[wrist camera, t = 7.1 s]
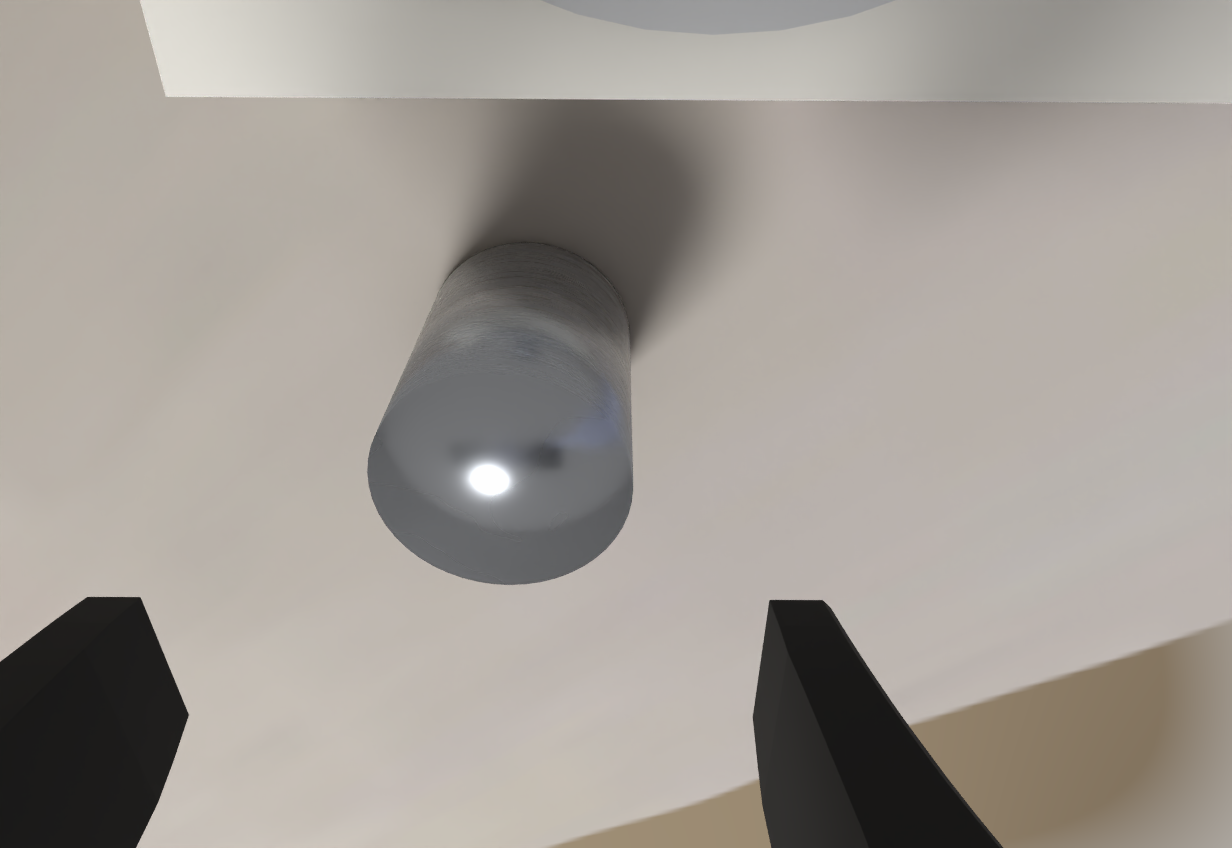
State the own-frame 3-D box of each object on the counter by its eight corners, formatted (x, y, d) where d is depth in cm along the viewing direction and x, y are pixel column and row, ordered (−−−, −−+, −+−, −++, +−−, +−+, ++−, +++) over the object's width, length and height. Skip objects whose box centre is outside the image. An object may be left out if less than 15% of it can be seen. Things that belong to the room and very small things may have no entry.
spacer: (631, 243, 16) (635, 372, 12) (628, 421, 18) (631, 585, 14) (419, 241, 16) (347, 371, 12) (442, 420, 18) (387, 583, 14)
